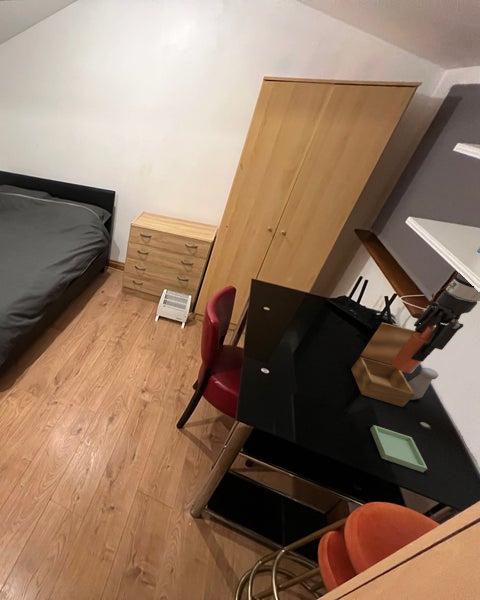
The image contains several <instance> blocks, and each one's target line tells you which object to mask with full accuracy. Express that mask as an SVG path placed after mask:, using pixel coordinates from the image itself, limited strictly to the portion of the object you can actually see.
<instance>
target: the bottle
mask: <svg viewBox="0 0 480 600" xmlns="http://www.w3.org/2000/svg"><path fill="white" fill-rule="evenodd" d="M435 327H436V326H428V327H427V328H426V329H425V331H424V332H423V333H414V334H413V335H412V336H411V338H410V339H409V340H408V341H407V343H406V344H405V345H404V346H403V348H402V349H401V350H400V351H399V353H398V354H397V355H396V356H395V358H394V359H393V360H392V361H391V364H390V365H392V366H393V367H395V368H396V369H398V370H400V371H401V372H402V373H406V374H412V373H414V371H415V370H417V368H418V367H419V366H420V364H422V362H421V361H417V360H414V359H412V357H413V356H414V354H415V353H416V352H417V351H418V350H419V348H420V347H421V346H422V345H423V344H424V343H427V342H428V340H429V338H430V336H431V334H432V333H433V331H434V329H435Z"/></svg>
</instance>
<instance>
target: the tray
mask: <svg viewBox="0 0 480 600" xmlns="http://www.w3.org/2000/svg"><path fill="white" fill-rule="evenodd" d="M369 429H370V433H371V435H372V437H373V440H374V443H375V445H376V448H377V450H378V452H379V455H380V457H381V459H383V460H384V461H388V462H392V463H394V464H398V465H401V466H403V467H406V468H409V469H411V470H413V471H414V470H415V471H418V472H420V473H424V472H426V471H427V470H428V467H427V465H426V462H425V461H424V459H423V457H422V454H421V453H420V450H419V448H418V446H417V445H416V442H415V441H414V439H413V437H412V436H409V435H406V434H403V433H399V432H398V431H397V432H396V431H393V430H390V429H387V428H384V427H382V426H378V425H374V424H373V425H372V427H370V428H369Z"/></svg>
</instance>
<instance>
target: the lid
mask: <svg viewBox="0 0 480 600" xmlns="http://www.w3.org/2000/svg"><path fill="white" fill-rule="evenodd" d="M415 331H416V330H415V329H411V328H407V327H404V326H403V327H402V326H399V325H395V324H390V323H386V322H381V324H380V325H379V326H378V328H377V330H376V331H375V332H374V334H373V335H372V337H371V338H370V340H369V341H368V343H367V345H366V346H365V348H364V349H363V351H362V352H361V353H360V357H363V358H367V359H370V360H374V361H378V362H382V363H385V364H389V365H392V364H391V361H392V360H393V359H394V358H395V356H396V355H397V354H398V353H399V351H400V350H401V349H402V348H403V346H404V345H405V343H406V342H407V341H408V340H409V338H410V337H411V336H412V334H413V333H414V332H415Z"/></svg>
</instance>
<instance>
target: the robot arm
mask: <svg viewBox="0 0 480 600" xmlns="http://www.w3.org/2000/svg"><path fill="white" fill-rule="evenodd" d="M476 251H477V252H478V253H480V247H479V248H478V249H477V250H476ZM478 302H480V292H478V291H477V290H476V289H475V288H474V286H472V285H471V284H470V283H469V282H468V281H467V280H466V279H465V278H464V277H463V276H462V275H461V274H460V273H459V272H458V273H457V275H456V276H455V277H454V278H453V280H452V281H451V282H449V283H448V286H447V287H445V290H444V291H443V292H442V293H441V294H440V296H438V297H437V299H436V301H431V302H430V304H429V306H428V307H427V308H426V310H425V311H424V312H423V313H422V314H421V316H419V317H418V319H416V321H415V322H414V324H413V326H414V327H415V328H414V330H415V332H414V333H423V332H424V331H425V329H426V328H427V327H428V326H433V327H435V329H434V331H433V333H432V334H431V336H430V338H429V340H428V342H427V343H424V344H423V345H422V346H421V347H420V348H419V350H418V351H417V352H416V353H415V354H414V356H413V357H412V359H414V360H417V361H421V363H423V362H424V361H425V360H426V359H427V358H428V356H429V355H431V354H432V353H433V352H434V351H435V349H437V350H440V351H442V350H444V349H445V347H446V346H447V345H448V344H449V342H450V341H451V340H452V338H453V337H454V336H455V335H456V334H457V332H458V331H459V330H461V329H462V328H463V327H464V323H460V322H459V320H460V318H461V316H462V315H463V314H468V313H470V312H472V311H473V309H474V308H475V307H476V306H477V305H478ZM414 333H413V334H414ZM413 334H412V335H413ZM410 338H411V337H410ZM410 338H409V339H410ZM406 343H407V342H406ZM406 343H405V344H406Z"/></svg>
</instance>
